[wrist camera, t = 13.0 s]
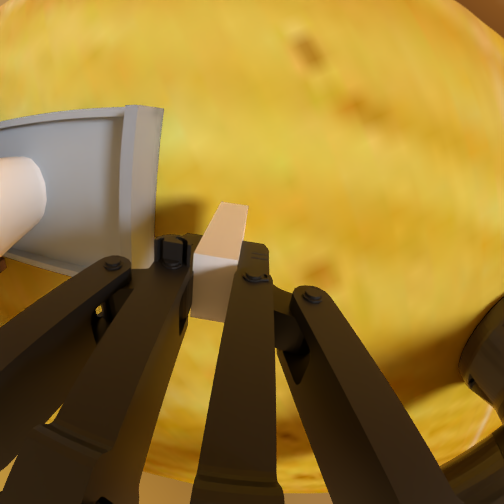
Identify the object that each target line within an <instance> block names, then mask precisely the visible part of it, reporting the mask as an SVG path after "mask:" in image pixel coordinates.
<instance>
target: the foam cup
mask: <svg viewBox="0 0 504 504" xmlns="http://www.w3.org/2000/svg"><path fill="white" fill-rule="evenodd" d="M46 202H47V197H46V186H45V181H44V179H43V176H42V173H41V171H40V168H39V167H38V166H37V165H36V164H35V163H34V161H33V160H32V159H31V158H27V157H23V156H21V157H5V158H0V257H1V256H2V255H3V254H5V253H6V252H7V251H8V250H9V249H10V248H11V247H12V246H13V245H14V244H15V243H16V242H17V241H19V240H20V239H21V238H22V237H23V236H24V235H25V234H26V233H28V232H29V231H30V230H31V229H32V228H33V227H34V226H35V225H36V224H38V222H39V221H40V219H41V218H42V217H43V215H44V212H45V206H46Z"/></svg>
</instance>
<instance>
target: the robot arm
mask: <svg viewBox="0 0 504 504" xmlns="http://www.w3.org/2000/svg"><path fill="white" fill-rule="evenodd" d="M247 212H248V206H246V205H239V204H233V203H226V202H221V203H220V205H219V207H218V209H217V211H216V212H215V214H214V216H213V218H212V220H211V222H210V223H209V225H208V227H207V229H206V231H205V233H204V235H197V234H190V233H187V234H185V235H183V236H180V235H171V234H170V235H162V236H159V237H157V238H156V239H154V262H153V263H152V265H151V266H150V267H149V268H146V269H132V268H131V262H130V260H129V259H127V258H125V257H122V256H119V255H116V256H115V255H111V256H108V257H104V258H102V259H100V260H98V261H97V262H95V263H93V264H92V265H90V266H89V267H87V268H86V269H84V270H82V271H81V272H79V273H78V274H76V275H75V276H73V277H72V278H70V279H69V280H67V281H65V282H64V283H62V284H61V285H59V286H58V287H56V288H55V289H54V290H52V291H51V292H49V293H48V294H46V295H45V296H43V297H42V298H40V299H39V300H38V301H36V302H35V303H33V304H32V305H30V306H29V307H28V308H26V309H25V310H24V311H22V312H21V313H19V314H18V315H17V316H15V317H14V318H13V319H11V320H10V321H9V322H7V323H6V324H5V325H3V326H2V327H1V328H0V471H1V470H2V469H4V468H5V467H6V466H7V465H8V464H9V463H10V462H11V461H12V460H13V459H14V458H15V457H16V456H17V455H18V456H17V458H16V460H15V462H14V465H13V467H12V469H11V471H10V474H9V476H8V478H7V481H6V483H5V486H4V488H3V491H1V492H0V504H139V483H140V478H141V475H142V471H143V467H144V464H145V460H146V457H147V453H148V450H149V446H150V443H151V439H152V436H153V432H154V429H155V425H156V422H157V419H158V415H159V412H160V409H161V406H162V402H163V399H164V396H165V393H166V390H167V386H168V383H169V380H170V377H171V374H172V371H173V368H174V365H175V362H176V359H177V355H178V352H179V349H180V346H181V343H182V341H183V338H184V335H185V332H186V329H187V326H188V313H189V311H190V308H191V315H190V317H195V318H200V319H206V320H212V321H218V322H224V328H223V333H222V338H221V344H220V349H219V354H218V359H217V365H216V370H215V375H214V381H213V386H212V392H211V397H210V402H209V408H208V413H207V419H206V424H205V430H204V436H203V441H202V447H201V453H200V459H199V464H198V470H197V474H196V477H195V480H194V484H193V489H192V495H191V501H190V504H284V494H283V490H282V487H281V486H280V485H279V483H278V481H277V474H276V379H275V348H277V355H278V358H279V361H280V363H281V366H282V369H283V372H284V374H285V377H286V380H287V383H288V385H289V388H290V391H291V393H292V396H293V399H294V402H295V404H296V407H297V410H298V412H299V415H300V418H301V420H302V423H303V426H304V428H305V431H306V434H307V436H308V439H309V442H310V444H311V447H312V450H313V452H314V455H315V458H316V460H317V463H318V466H319V468H320V471H321V473H322V476H323V479H324V481H325V484H326V487H327V489H328V492H329V494H330V497H331V499H332V502H333V504H504V297H503V298H502V299H501V300H500V301H499V302H498V303H497V304H496V305H495V306H494V307H493V308H492V309H491V310H490V312H489V313H488V314H487V315H486V316H485V318H484V319H483V320H482V321H481V323H480V324H479V325H478V327H477V328H476V330H475V331H474V332H473V334H472V336H471V337H470V339H469V341H468V342H467V344H466V346H465V348H464V350H463V353H462V355H461V358H460V362H459V372H460V375H461V376H462V378H463V380H464V382H465V384H466V385H467V386H468V387H469V388H470V389H471V390H472V391H473V392H475V393H476V394H477V395H478V396H480V397H481V398H482V399H483V400H485V401H486V402H487V403H488V404H490V405H491V406H492V407H493V408H494V409H495V410H496V412H497V414H498V416H499V418H500V420H501V422H502V424H503V425H502V426H500V427H499V428H498V429H497V430H495V431H494V432H493V433H491V434H490V435H488V436H487V437H486V438H484V439H483V440H481V441H480V442H478V443H477V444H476V445H474V446H473V447H471V448H469V449H468V450H466V451H465V452H463V453H462V454H460V455H458V456H457V457H455V458H453V459H452V460H450V461H448V462H446V463H445V464H443V465H441V466H439V465H438V463H437V461H436V460H435V458H434V456H433V454H432V453H431V451H430V449H429V448H428V446H427V444H426V443H425V441H424V439H423V438H422V436H421V434H420V433H419V431H418V429H417V428H416V426H415V424H414V423H413V421H412V419H411V418H410V416H409V415H408V413H407V411H406V410H405V408H404V406H403V405H402V403H401V402H400V400H399V399H398V397H397V395H396V394H395V392H394V391H393V389H392V388H391V386H390V384H389V383H388V381H387V380H386V378H385V377H384V375H383V374H382V372H381V371H380V369H379V367H378V366H377V364H376V363H375V361H374V360H373V358H372V357H371V355H370V354H369V352H368V351H367V349H366V348H365V346H364V345H363V343H362V342H361V340H360V339H359V337H358V336H357V335H356V333H355V332H354V330H353V329H352V327H351V326H350V324H349V323H348V321H347V320H346V318H345V317H344V316H343V314H342V313H341V311H340V310H339V308H338V307H337V306H336V304H335V303H334V301H333V300H332V298H331V297H330V296H329V295H328V294H327V293H326V292H325V291H323V290H321V289H320V288H318V287H315V286H306V285H305V286H299V287H297V288H295V289H294V291H293V294H292V293H289V292H286V291H284V290H281V289H279V288H277V287H276V286H275V285H273V280H272V277H271V276H270V275H269V250H268V248H267V247H266V246H265V245H264V244H260V243H254V242H247V241H243V238H244V231H245V225H246V218H247ZM99 305H101V307H102V312H101V313H99V314H96V310H95V309H96V308H97V307H98V306H99ZM62 404H63V405H62ZM61 405H62V407H61V409H60V411H59V413H58V414H57V416H56V418H55V419H54V421H53V422H52V423H50V424H45V423H46V422H47V420H48V419H49V418H50V417H51V416H52V415H53V414H54V413H55V412H56V410H57V409H58V408H59V407H60V406H61Z"/></svg>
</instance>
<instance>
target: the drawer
mask: <svg viewBox="0 0 504 504" xmlns="http://www.w3.org/2000/svg"><path fill="white" fill-rule="evenodd" d="M163 112H164V109H162V108H156V107H149V106H142V105H125V107H111V108H93V109H80V110H69V111H60V112H52V113H45V114H38V115H32V116H26V117H21V118H16V119H11V120H6V121H1V122H0V158H5V157H21V156H23V157H27V158H31V159H32V160H33V161H34V163H35V164H36V165H37V166H38V167H39V168H40V171H41V173H42V176H43V179H44V181H45V186H46V197H47V202H46V206H45V212H44V215H43V217H42V218H41V219H40V221H39V222H38V224H36V225H35V226H34V227H33V228H32V229H31V230H30V231H29V232H28V233H26V234H25V235H24V236H23V237H22V238H21V239H20V240H19V241H17V242H16V243H15V244H14V245H13V246H12V247H11V248H10V249H9V250H8V251H7V252H6V253H5V254H3V255H2V256H4V257H7V258H10V259H14V260H17V261H20V262H23V263H26V264H29V265H33V266H36V267H39V268H43V269H46V270H49V271H53V272H56V273H60V274H64V275H67V276H71V277H73V276H75V275H76V274H78V273H79V272H81V271H82V270H84V269H86V268H87V267H89V266H90V265H92V264H93V263H95V262H97V261H98V260H100V259H102V258H104V257H108V256H111V255H115V256H116V255H119V256H122V257H125V258H127V259H129V260H130V262H131V268H132V269H146V268H149V267H150V266H151V265H152V263H153V262H154V229H155V201H156V183H157V169H158V157H159V147H160V137H161V128H162V120H163Z"/></svg>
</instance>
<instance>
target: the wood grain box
mask: <svg viewBox="0 0 504 504" xmlns="http://www.w3.org/2000/svg"><path fill="white" fill-rule="evenodd" d="M5 269H6V264H5V259H4V258H1V257H0V273H1V272H2V271H3V270H5Z"/></svg>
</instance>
